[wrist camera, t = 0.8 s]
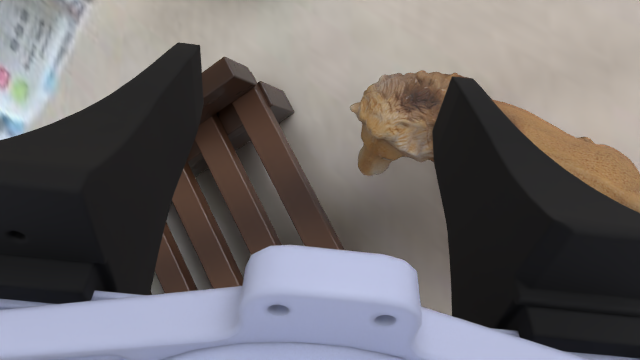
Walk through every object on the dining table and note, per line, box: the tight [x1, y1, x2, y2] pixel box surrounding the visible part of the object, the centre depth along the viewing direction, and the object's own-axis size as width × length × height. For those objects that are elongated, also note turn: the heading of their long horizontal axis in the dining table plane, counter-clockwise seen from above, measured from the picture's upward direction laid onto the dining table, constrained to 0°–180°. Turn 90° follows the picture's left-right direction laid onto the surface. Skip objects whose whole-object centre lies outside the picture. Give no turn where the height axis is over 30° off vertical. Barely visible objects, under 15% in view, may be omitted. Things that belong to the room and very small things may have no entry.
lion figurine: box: [350, 71, 640, 213], centre depth 22 cm, size 15×5×9 cm, turn 75°
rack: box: [150, 57, 344, 295], centre depth 29 cm, size 16×20×6 cm
